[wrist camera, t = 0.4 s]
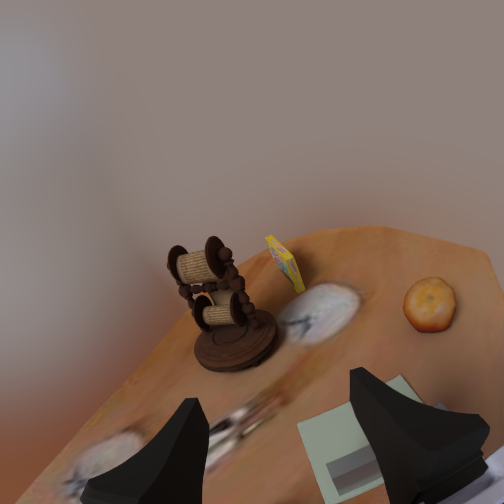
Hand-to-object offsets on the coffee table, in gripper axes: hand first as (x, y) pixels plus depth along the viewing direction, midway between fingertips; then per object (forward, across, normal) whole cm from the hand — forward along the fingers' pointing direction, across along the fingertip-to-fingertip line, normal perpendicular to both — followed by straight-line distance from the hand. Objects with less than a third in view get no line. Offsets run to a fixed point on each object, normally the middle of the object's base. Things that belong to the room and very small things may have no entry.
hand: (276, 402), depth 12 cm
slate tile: (+4, -9, +17) cm, 20 cm away
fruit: (+21, -23, +13) cm, 34 cm away
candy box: (+50, -6, +11) cm, 52 cm away
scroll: (+32, +6, +16) cm, 36 cm away
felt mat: (+8, -9, +17) cm, 21 cm away
